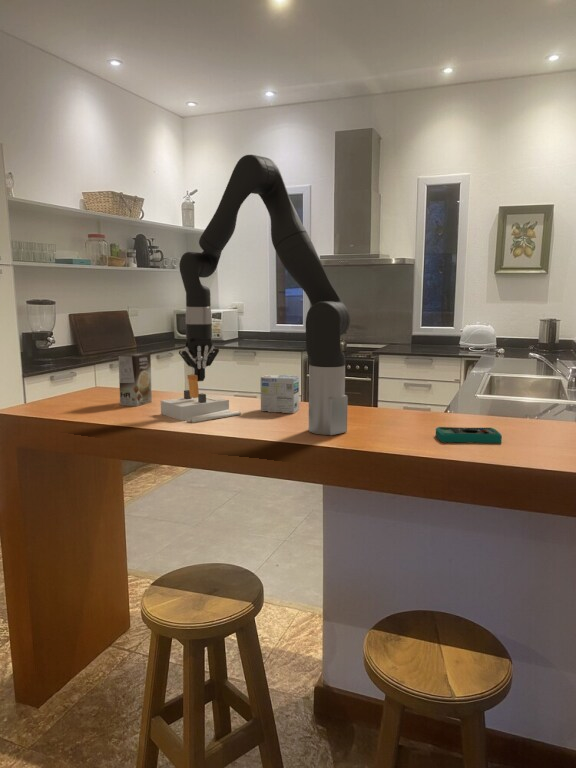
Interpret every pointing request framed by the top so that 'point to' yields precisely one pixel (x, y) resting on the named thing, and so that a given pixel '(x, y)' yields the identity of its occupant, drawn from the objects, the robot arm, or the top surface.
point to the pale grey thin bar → (208, 415)
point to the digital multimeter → (468, 435)
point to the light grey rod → (216, 416)
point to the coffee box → (135, 379)
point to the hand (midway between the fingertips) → (199, 380)
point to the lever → (193, 385)
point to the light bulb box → (280, 393)
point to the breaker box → (193, 406)
